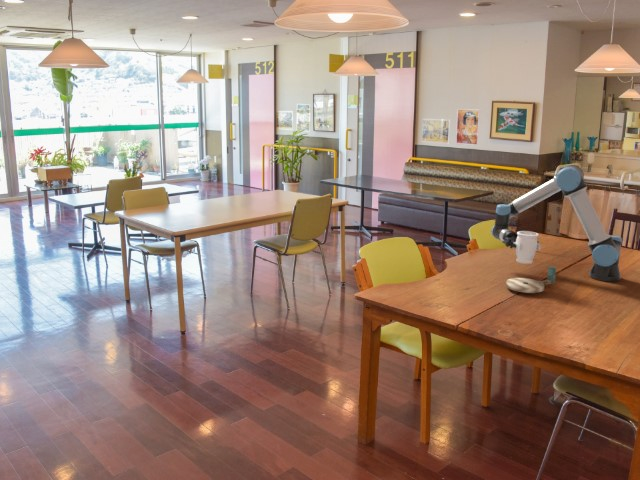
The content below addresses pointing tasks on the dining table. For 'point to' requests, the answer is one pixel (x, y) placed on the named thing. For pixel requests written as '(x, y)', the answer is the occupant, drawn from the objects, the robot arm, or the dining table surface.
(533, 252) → the jar
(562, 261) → the dining table surface
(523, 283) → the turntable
